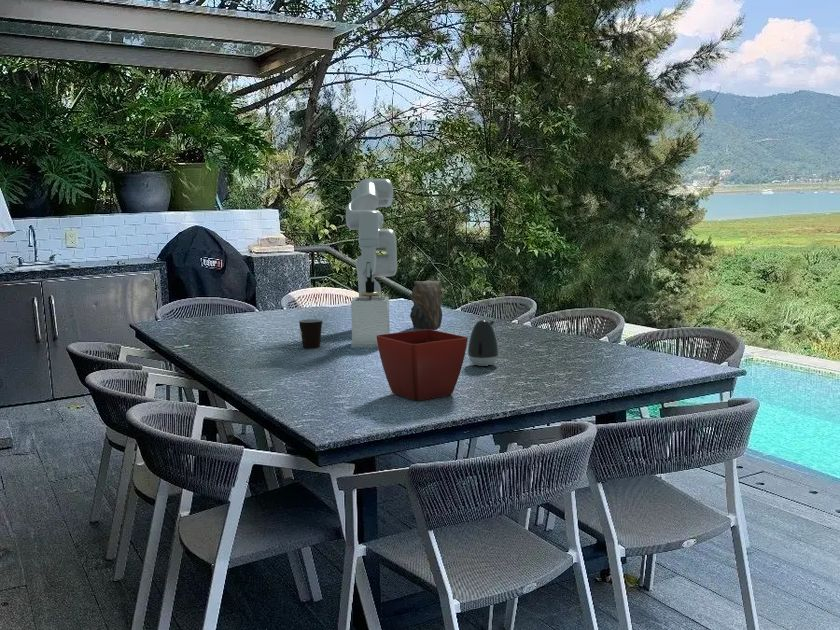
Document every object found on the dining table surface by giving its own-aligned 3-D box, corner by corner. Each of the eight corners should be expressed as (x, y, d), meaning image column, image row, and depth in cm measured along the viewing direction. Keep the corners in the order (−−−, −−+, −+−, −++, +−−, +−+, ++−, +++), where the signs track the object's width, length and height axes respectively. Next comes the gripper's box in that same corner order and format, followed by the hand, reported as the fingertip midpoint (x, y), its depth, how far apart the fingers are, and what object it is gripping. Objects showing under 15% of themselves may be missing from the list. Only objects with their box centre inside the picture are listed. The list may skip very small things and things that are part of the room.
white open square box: (354, 341, 336) (353, 297, 333) (390, 341, 335) (389, 296, 333) (351, 347, 322) (349, 301, 319) (388, 347, 321) (387, 300, 319)
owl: (409, 328, 368) (408, 281, 366) (421, 324, 380) (420, 279, 377) (436, 329, 363) (435, 282, 360) (447, 325, 375) (447, 279, 372)
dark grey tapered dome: (505, 365, 285) (505, 319, 283) (485, 369, 277) (484, 323, 275) (482, 361, 292) (481, 316, 290) (461, 365, 284) (461, 320, 282)
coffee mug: (318, 349, 320) (317, 322, 318) (296, 348, 322) (295, 322, 320) (328, 344, 331) (327, 318, 330) (306, 343, 333) (306, 318, 331)
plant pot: (470, 395, 241) (469, 336, 239) (414, 406, 230) (413, 344, 228) (429, 384, 257) (429, 328, 255) (375, 393, 246) (374, 335, 244)
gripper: (361, 243, 331) (362, 290, 333) (357, 244, 316) (358, 294, 318) (380, 242, 331) (381, 290, 333) (377, 244, 316) (378, 294, 318)
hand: (370, 292), depth 326 cm, fingers closed
